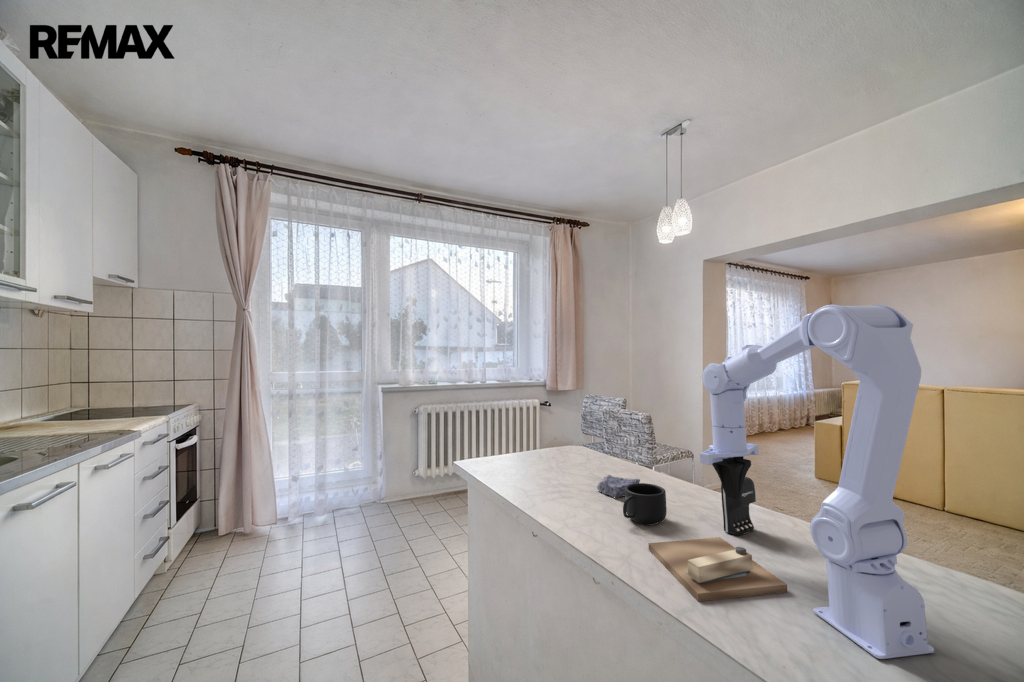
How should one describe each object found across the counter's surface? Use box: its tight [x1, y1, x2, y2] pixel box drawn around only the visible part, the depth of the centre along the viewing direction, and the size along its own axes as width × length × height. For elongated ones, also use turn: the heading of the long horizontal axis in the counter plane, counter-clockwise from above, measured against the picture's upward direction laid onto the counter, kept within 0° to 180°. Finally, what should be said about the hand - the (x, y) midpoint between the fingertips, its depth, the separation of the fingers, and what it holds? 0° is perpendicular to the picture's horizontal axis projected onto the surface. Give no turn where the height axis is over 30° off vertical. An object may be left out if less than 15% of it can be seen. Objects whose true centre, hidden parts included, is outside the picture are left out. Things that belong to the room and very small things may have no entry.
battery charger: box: [720, 476, 757, 536], centre depth 85 cm, size 7×4×11 cm, turn 117°
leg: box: [688, 546, 753, 582], centre depth 66 cm, size 11×2×3 cm, turn 107°
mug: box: [622, 482, 668, 526], centre depth 91 cm, size 12×9×7 cm
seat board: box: [648, 536, 789, 602], centre depth 70 cm, size 17×15×2 cm
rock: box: [596, 474, 641, 499], centre depth 111 cm, size 12×5×10 cm
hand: (732, 497), depth 76 cm, fingers closed
